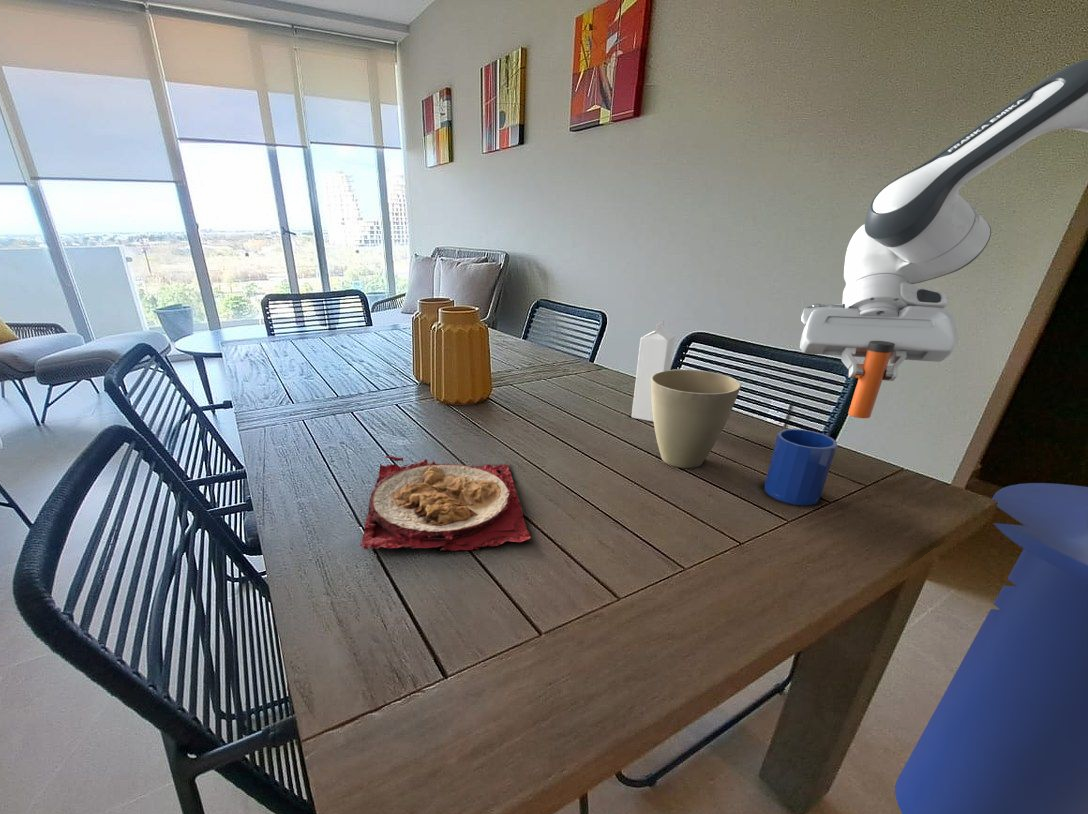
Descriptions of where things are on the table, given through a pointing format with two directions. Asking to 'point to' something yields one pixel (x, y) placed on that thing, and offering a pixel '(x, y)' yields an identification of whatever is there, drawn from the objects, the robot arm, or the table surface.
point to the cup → (799, 466)
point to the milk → (651, 368)
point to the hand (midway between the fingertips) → (872, 377)
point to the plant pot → (690, 413)
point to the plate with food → (443, 507)
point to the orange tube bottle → (870, 378)
